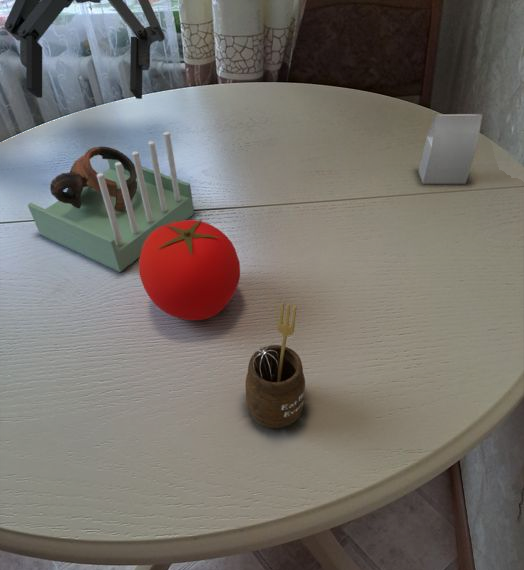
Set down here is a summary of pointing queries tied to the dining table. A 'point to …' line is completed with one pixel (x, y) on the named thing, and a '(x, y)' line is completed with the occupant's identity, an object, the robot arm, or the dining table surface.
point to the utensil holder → (276, 380)
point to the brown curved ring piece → (93, 178)
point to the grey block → (450, 148)
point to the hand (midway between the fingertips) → (85, 94)
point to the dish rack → (118, 212)
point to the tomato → (189, 269)
